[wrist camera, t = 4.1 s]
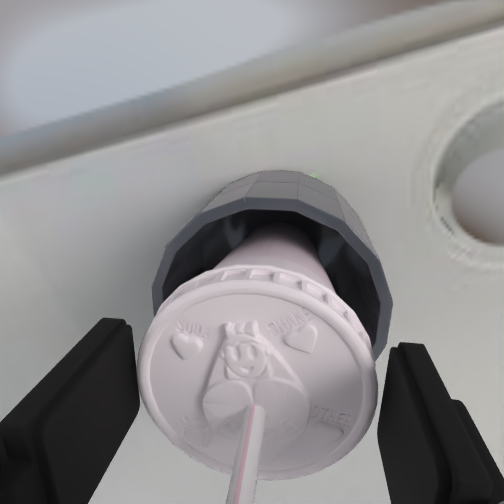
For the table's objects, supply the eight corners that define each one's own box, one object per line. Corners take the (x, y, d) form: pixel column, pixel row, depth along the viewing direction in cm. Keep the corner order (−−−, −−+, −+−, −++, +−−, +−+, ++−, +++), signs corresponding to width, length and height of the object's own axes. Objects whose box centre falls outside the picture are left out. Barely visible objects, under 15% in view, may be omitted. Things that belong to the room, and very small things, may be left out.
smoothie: (226, 319, 20) (87, 686, 7) (202, 202, 18) (-50, 427, 5) (350, 310, 19) (440, 722, 6) (338, 184, 17) (437, 412, 4)
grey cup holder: (375, 173, 17) (409, 203, 12) (355, 335, 20) (374, 421, 15) (193, 167, 18) (143, 192, 13) (199, 322, 21) (160, 398, 16)
